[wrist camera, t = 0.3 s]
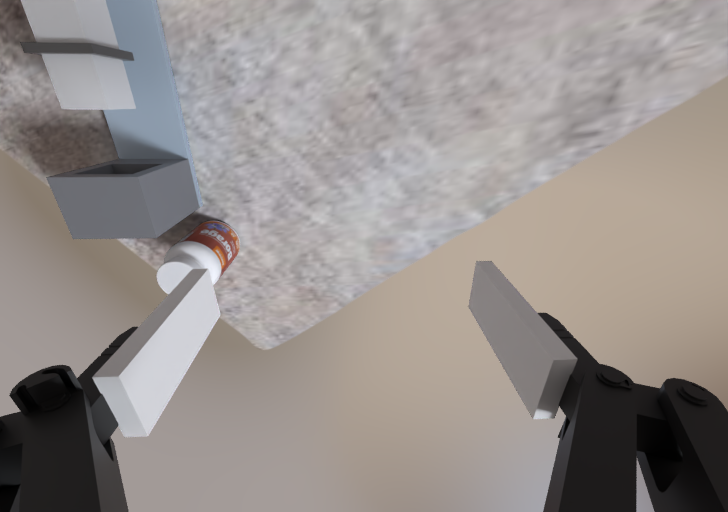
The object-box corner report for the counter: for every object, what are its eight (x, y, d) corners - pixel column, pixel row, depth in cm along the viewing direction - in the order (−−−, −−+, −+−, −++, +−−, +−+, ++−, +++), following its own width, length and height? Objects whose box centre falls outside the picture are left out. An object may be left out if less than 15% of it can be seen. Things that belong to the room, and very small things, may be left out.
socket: (119, 159, 37) (46, 177, 28) (188, 158, 38) (137, 177, 29) (135, 208, 40) (73, 238, 31) (199, 207, 40) (156, 237, 31)
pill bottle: (250, 243, 44) (222, 284, 34) (221, 268, 45) (185, 315, 35) (215, 209, 41) (173, 244, 32) (185, 237, 43) (136, 278, 33)
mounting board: (23, -161, 27) (12, -170, 26) (120, -157, 27) (112, -166, 26) (139, 205, 41) (135, 208, 40) (202, 205, 41) (199, 207, 40)
